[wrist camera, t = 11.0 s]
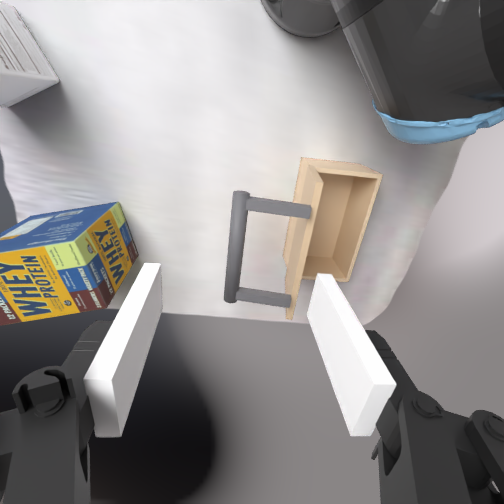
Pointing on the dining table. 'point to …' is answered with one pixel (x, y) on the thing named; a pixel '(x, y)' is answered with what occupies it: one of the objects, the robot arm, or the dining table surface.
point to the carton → (335, 216)
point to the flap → (298, 250)
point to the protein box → (63, 262)
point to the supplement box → (20, 60)
